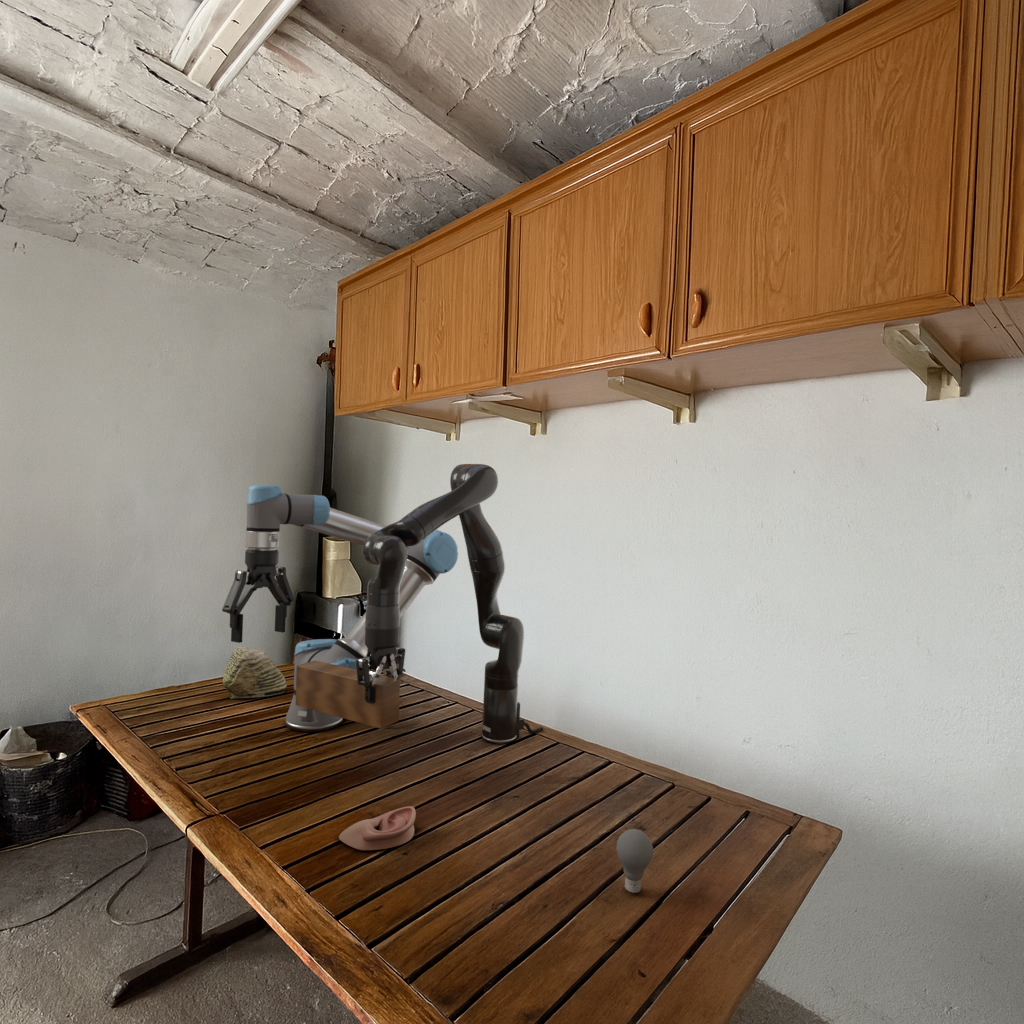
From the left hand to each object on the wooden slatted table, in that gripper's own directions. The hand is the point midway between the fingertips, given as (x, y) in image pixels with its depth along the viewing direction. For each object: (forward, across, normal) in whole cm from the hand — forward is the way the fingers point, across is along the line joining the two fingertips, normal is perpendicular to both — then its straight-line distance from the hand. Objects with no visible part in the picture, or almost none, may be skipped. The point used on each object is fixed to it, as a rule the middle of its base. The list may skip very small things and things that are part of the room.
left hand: (259, 636), depth 153 cm
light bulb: (+29, -11, -95) cm, 100 cm away
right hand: (+10, +2, -34) cm, 36 cm away
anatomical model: (+29, -16, -48) cm, 58 cm away
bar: (+15, +3, -24) cm, 29 cm away
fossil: (+29, +34, +35) cm, 56 cm away
